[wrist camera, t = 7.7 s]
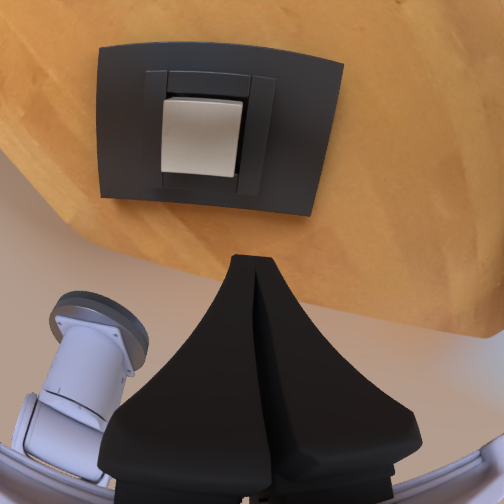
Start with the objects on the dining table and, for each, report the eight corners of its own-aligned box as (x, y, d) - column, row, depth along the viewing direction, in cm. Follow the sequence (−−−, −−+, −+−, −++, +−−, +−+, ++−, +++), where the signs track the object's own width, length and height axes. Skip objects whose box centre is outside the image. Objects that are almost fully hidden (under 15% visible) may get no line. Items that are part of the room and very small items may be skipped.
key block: (305, 205, 20) (316, 231, 17) (110, 187, 19) (89, 210, 16) (335, 64, 14) (355, 63, 11) (110, 48, 13) (84, 46, 10)
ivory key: (234, 166, 15) (233, 178, 14) (168, 161, 15) (160, 172, 13) (243, 101, 13) (242, 105, 12) (172, 97, 13) (163, 100, 11)
